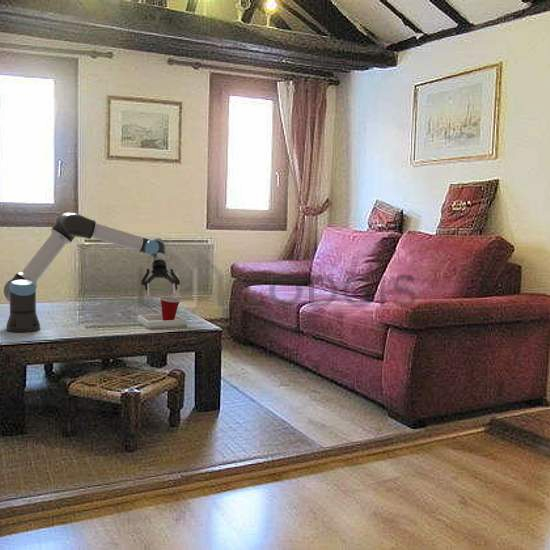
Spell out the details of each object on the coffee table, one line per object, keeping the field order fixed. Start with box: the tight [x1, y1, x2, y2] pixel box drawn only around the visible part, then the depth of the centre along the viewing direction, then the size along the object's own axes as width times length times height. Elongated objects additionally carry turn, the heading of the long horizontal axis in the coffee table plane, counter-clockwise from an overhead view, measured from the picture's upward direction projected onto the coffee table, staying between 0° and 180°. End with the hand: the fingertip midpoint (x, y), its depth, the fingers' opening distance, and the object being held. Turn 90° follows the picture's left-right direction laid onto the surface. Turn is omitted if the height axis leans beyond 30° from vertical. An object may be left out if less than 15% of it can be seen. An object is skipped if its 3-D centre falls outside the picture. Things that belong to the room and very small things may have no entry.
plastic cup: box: [159, 296, 181, 321], centre depth 335 cm, size 11×11×12 cm
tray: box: [137, 313, 188, 330], centre depth 332 cm, size 20×20×4 cm
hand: (161, 294), depth 337 cm, fingers open, 13 cm apart
